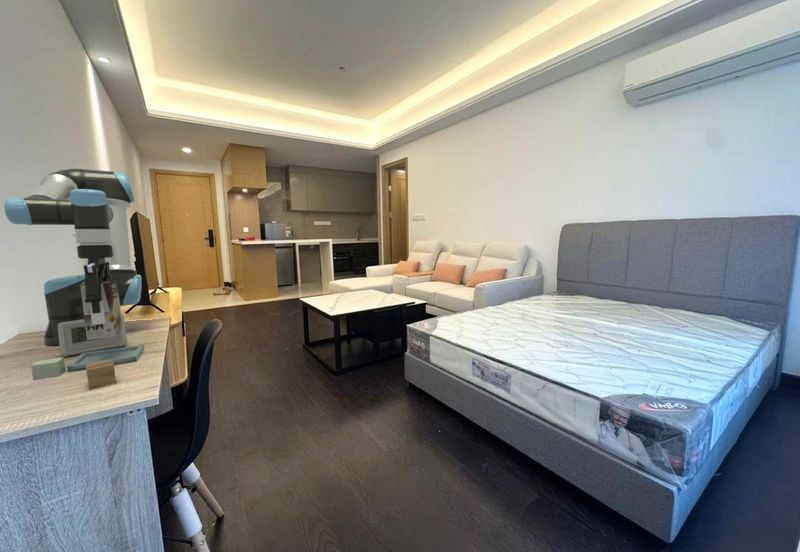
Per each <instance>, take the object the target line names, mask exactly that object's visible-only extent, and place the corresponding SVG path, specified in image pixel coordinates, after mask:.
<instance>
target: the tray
mask: <svg viewBox="0 0 800 552" xmlns="http://www.w3.org/2000/svg"><path fill="white" fill-rule="evenodd" d="M144 350H145V348H144V344H142V345H141V344H140V345H139V344H138V345H134V346H124V347H117V348H114V349H110V350H103V351H96V352H88V353H82V354H81V355H78V357H76V358H75V359H73V361H72V362H70V363H69V364H68V365H67V366H66V371H67V373H72V372H78V371H84V370H86V365H87V364H92V363H97V362H102V361H107V360H113V363H114V366H115V365H123V364H127V363H128V364H129V363H135V362H137V361H138V360H139V358H140V357H141V355H142V354H143V352H144Z"/></svg>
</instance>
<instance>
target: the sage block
mask: <svg viewBox="0 0 800 552" xmlns="http://www.w3.org/2000/svg"><path fill="white" fill-rule="evenodd" d="M30 368H31V374H32V380H33V381H35V380H42V379H47V378H48V379H49V378H54V377H59V376H62V374H63V373H65V372H66V366H65V357H62V356H61V357H55V358H48V359H41V360H37V361H35V362H34V363H33V364H31V365H30Z"/></svg>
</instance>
